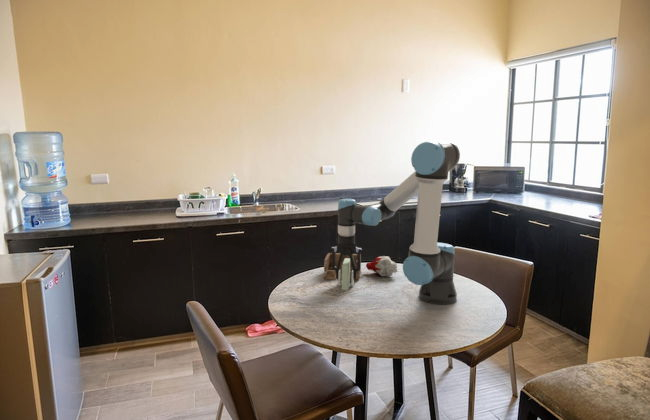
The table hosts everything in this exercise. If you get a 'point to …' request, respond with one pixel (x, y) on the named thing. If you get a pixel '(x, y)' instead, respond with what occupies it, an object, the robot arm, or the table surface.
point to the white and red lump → (382, 266)
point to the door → (346, 274)
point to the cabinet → (331, 273)
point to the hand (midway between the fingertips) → (346, 284)
